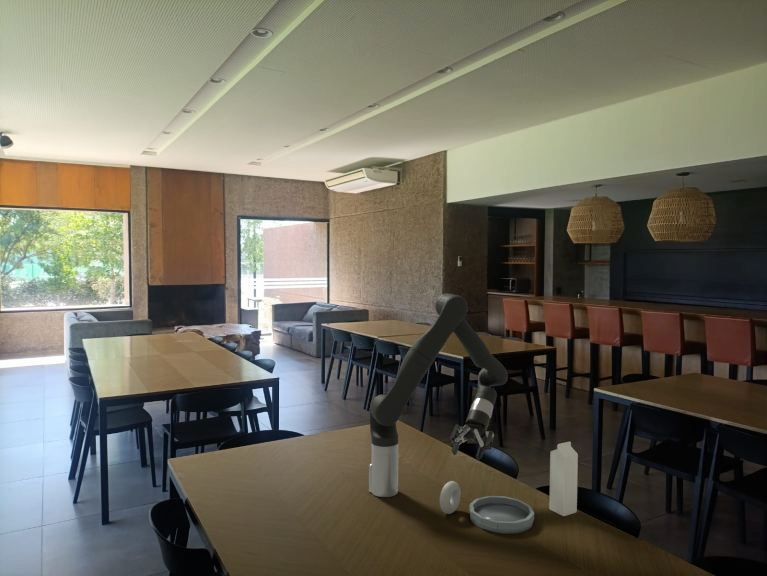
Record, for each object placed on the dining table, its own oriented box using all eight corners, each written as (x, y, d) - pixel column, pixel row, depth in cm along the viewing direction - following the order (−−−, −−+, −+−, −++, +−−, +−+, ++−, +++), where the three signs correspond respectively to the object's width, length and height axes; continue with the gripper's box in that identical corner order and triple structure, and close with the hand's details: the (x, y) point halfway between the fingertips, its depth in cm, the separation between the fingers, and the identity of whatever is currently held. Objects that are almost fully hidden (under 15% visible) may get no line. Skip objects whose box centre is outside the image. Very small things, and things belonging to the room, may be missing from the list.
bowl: (459, 522, 169) (459, 512, 169) (484, 500, 185) (484, 491, 185) (520, 539, 159) (520, 528, 159) (541, 515, 175) (541, 505, 175)
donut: (446, 520, 171) (447, 488, 171) (437, 517, 173) (437, 485, 173) (462, 508, 179) (463, 478, 179) (453, 506, 181) (453, 475, 181)
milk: (576, 512, 177) (578, 444, 176) (563, 516, 174) (565, 447, 173) (562, 505, 182) (563, 438, 181) (548, 509, 179) (550, 441, 178)
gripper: (458, 405, 196) (442, 446, 186) (496, 411, 188) (482, 454, 179) (464, 417, 200) (449, 458, 191) (502, 423, 192) (488, 466, 183)
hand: (465, 456), depth 185 cm, fingers open, 8 cm apart
